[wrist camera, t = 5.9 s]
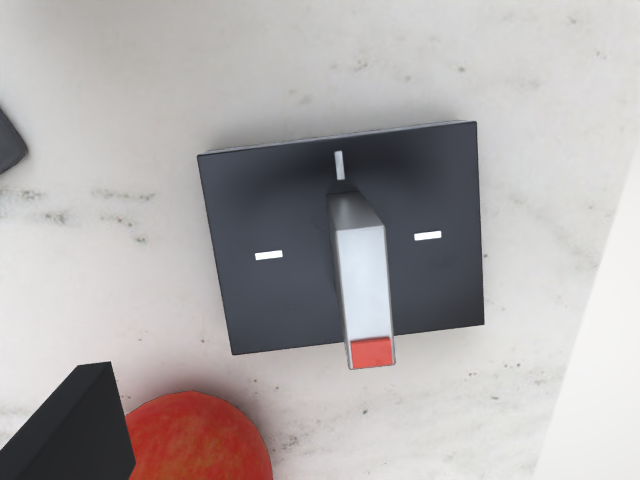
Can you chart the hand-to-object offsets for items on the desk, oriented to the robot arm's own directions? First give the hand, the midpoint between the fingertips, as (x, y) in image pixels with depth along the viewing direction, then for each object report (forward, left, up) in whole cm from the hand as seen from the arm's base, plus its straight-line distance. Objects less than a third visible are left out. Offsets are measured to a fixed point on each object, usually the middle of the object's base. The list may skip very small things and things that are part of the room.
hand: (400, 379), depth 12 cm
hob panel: (0, +1, -18) cm, 18 cm away
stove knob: (0, +1, -15) cm, 15 cm away
